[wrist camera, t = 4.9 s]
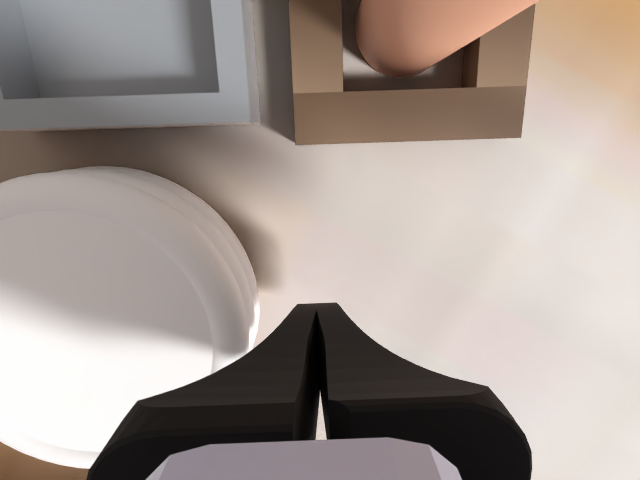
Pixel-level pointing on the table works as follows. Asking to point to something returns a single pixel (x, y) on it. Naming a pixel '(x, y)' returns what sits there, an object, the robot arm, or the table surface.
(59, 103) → the tray
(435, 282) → the table surface
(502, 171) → the table surface
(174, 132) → the table surface
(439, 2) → the dowel
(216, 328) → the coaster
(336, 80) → the collar
